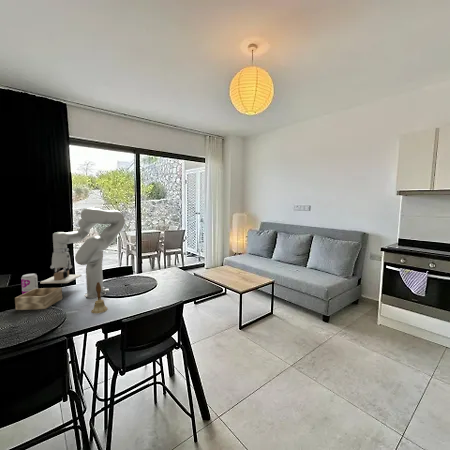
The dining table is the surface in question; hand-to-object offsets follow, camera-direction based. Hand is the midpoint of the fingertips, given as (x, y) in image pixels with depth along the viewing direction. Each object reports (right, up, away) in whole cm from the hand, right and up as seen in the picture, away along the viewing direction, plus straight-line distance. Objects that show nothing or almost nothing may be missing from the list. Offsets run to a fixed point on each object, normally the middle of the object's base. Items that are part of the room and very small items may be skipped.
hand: (61, 277), depth 169 cm
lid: (0, -1, 0) cm, 1 cm away
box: (+1, -12, -20) cm, 24 cm away
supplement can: (-16, -12, -6) cm, 21 cm away
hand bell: (+40, -13, -29) cm, 51 cm away
